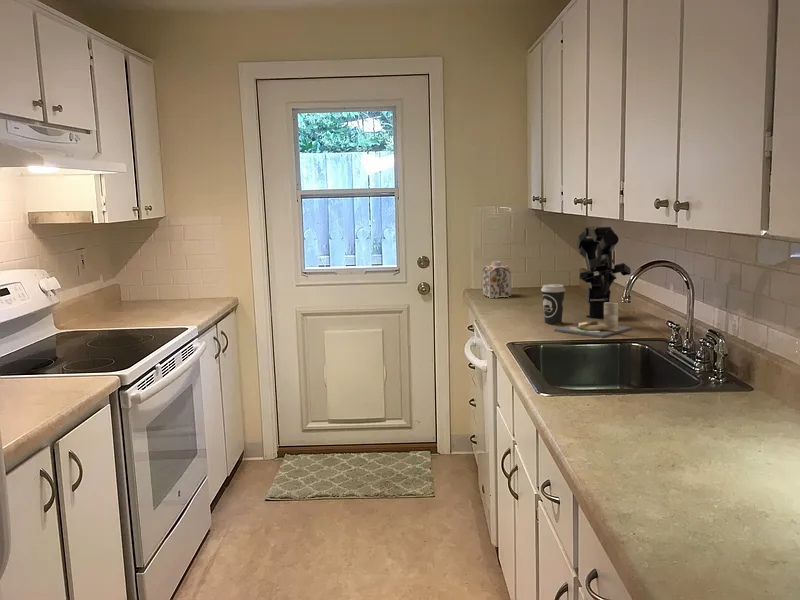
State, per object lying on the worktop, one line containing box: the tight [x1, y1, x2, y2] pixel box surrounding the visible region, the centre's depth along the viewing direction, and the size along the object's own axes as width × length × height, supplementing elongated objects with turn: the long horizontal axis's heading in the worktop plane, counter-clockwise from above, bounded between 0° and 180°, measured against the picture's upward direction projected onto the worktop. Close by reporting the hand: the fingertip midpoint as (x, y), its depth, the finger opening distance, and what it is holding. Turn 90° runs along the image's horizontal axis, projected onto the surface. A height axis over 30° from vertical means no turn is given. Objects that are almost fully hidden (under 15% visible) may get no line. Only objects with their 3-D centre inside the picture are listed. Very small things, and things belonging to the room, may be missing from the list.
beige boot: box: [578, 301, 619, 331], centre depth 252 cm, size 15×13×10 cm
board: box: [554, 322, 632, 338], centre depth 257 cm, size 20×20×1 cm
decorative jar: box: [482, 260, 512, 297], centre depth 351 cm, size 12×12×18 cm
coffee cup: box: [540, 283, 567, 325], centre depth 274 cm, size 10×10×15 cm
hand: (604, 293), depth 264 cm, fingers closed
